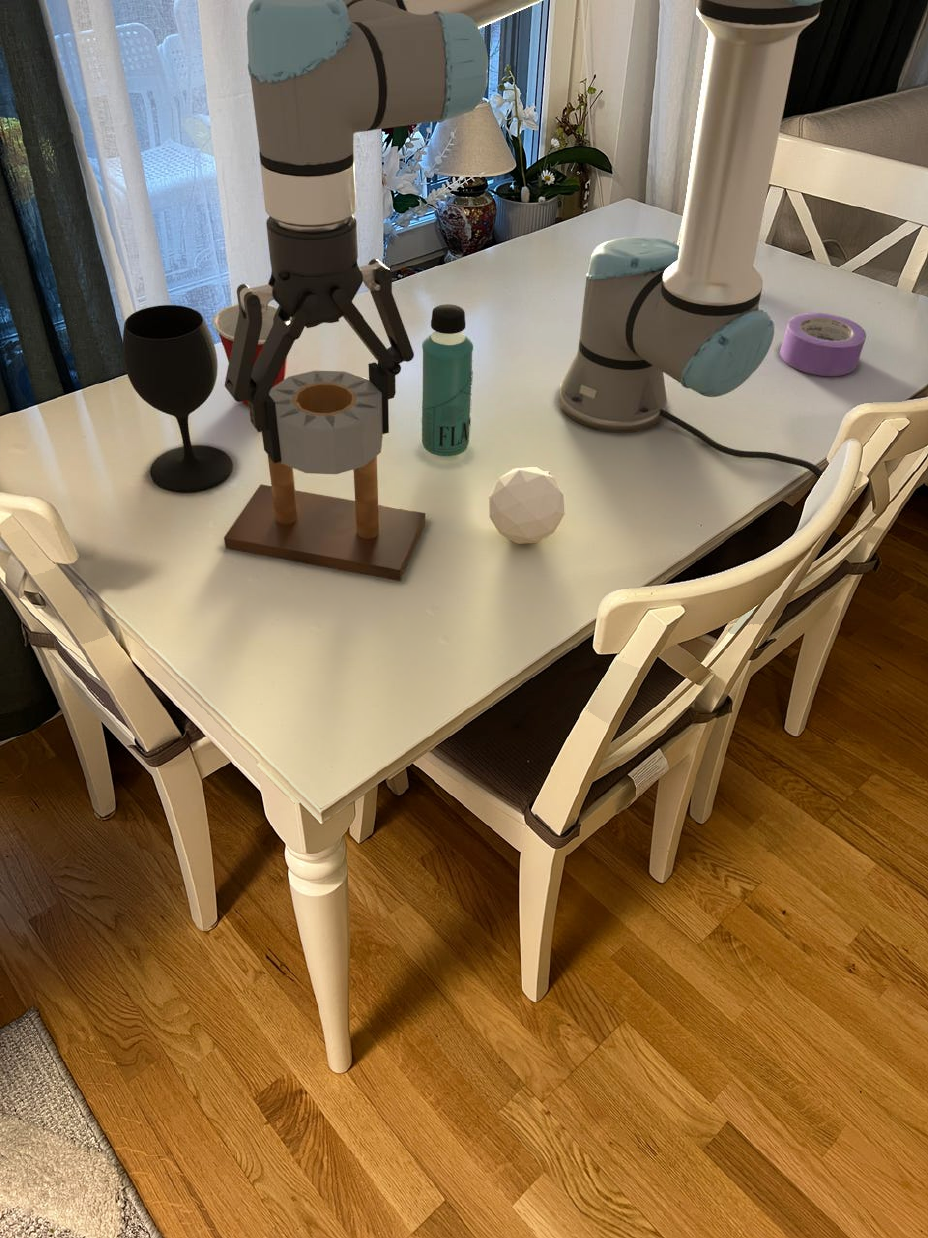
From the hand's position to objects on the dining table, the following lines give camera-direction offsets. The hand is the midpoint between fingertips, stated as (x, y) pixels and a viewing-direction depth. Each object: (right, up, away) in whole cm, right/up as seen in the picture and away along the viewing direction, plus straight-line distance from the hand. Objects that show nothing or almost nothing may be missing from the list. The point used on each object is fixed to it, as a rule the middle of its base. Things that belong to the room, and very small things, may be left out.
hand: (327, 441), depth 93 cm
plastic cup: (-15, +13, +40) cm, 45 cm away
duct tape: (0, 0, 0) cm, 0 cm away
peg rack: (-3, -8, +18) cm, 19 cm away
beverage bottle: (+11, +4, +32) cm, 34 cm away
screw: (+54, +50, +82) cm, 110 cm away
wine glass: (-21, +1, +26) cm, 34 cm away
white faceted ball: (+22, -7, +20) cm, 30 cm away
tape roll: (+70, +23, +55) cm, 92 cm away
